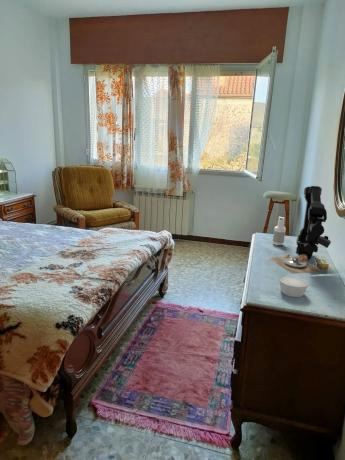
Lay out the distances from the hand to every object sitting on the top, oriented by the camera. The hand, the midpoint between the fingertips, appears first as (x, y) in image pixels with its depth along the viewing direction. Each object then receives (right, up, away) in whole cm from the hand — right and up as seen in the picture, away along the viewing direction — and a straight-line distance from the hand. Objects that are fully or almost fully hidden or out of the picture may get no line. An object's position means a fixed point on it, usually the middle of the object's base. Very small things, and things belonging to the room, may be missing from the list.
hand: (308, 259), depth 166 cm
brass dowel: (-8, -1, +10) cm, 12 cm away
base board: (-6, -4, +4) cm, 8 cm away
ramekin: (-19, -12, -27) cm, 35 cm away
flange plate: (-5, -2, +4) cm, 7 cm away
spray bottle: (-3, +6, +40) cm, 41 cm away
